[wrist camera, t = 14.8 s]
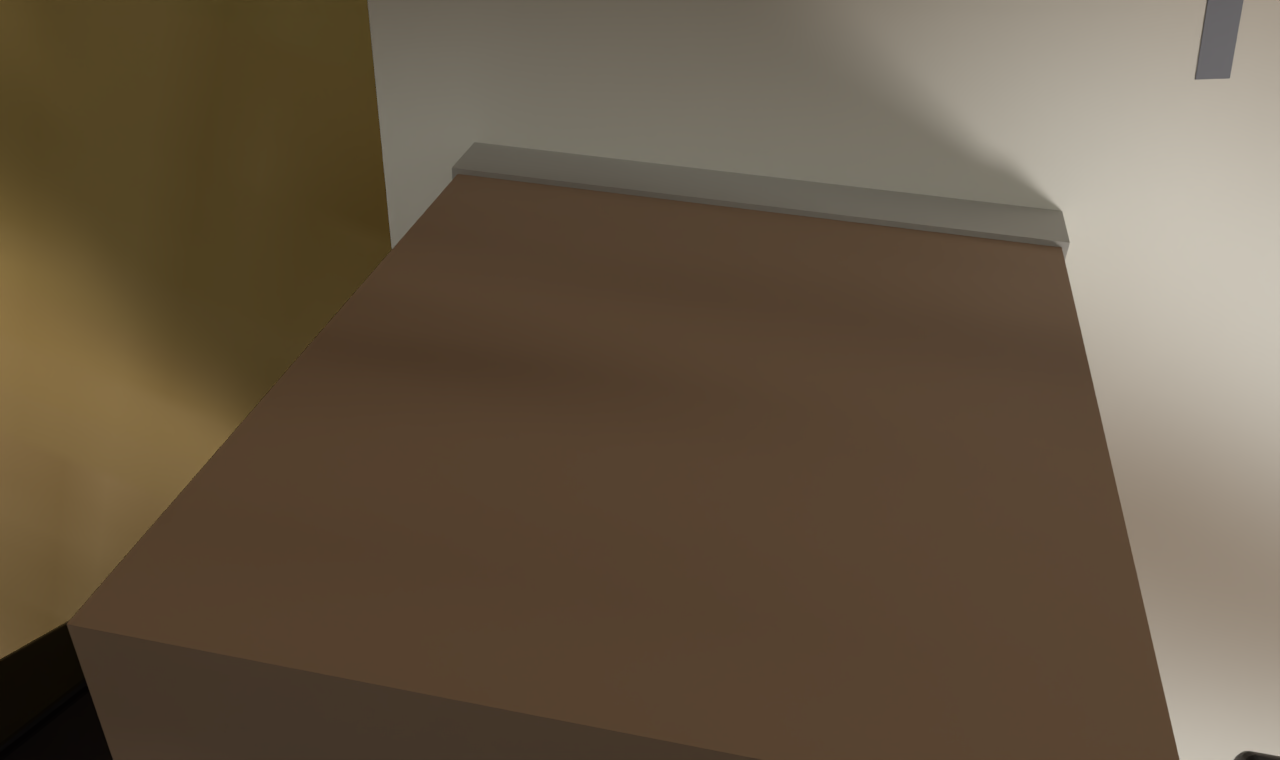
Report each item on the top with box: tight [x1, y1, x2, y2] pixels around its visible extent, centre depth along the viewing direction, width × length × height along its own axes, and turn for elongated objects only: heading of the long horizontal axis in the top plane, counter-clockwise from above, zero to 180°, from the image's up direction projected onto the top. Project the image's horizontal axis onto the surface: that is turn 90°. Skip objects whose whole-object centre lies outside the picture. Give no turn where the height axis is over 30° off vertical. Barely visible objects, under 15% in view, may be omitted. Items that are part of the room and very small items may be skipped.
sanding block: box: [67, 142, 1180, 760], centre depth 9 cm, size 7×5×6 cm
